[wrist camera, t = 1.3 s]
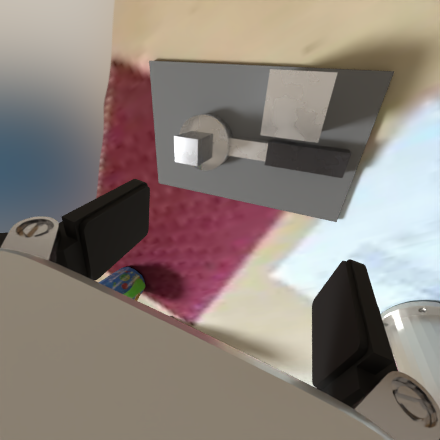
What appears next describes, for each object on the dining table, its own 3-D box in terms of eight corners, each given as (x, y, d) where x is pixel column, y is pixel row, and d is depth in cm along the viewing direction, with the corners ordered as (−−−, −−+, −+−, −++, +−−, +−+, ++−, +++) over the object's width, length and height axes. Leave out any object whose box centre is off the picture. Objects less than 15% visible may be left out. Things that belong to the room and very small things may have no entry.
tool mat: (391, 72, 22) (394, 71, 22) (335, 219, 31) (336, 222, 30) (152, 61, 30) (149, 60, 29) (161, 181, 39) (158, 183, 38)
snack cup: (143, 254, 50) (108, 287, 41) (167, 291, 53) (138, 327, 44) (103, 265, 57) (67, 293, 49) (125, 296, 60) (95, 328, 52)
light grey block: (332, 78, 23) (337, 72, 18) (318, 132, 26) (318, 142, 20) (280, 75, 25) (270, 69, 19) (272, 127, 28) (260, 135, 22)
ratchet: (355, 130, 25) (367, 140, 19) (335, 188, 28) (339, 212, 23) (187, 111, 31) (157, 114, 25) (187, 161, 34) (161, 175, 29)
